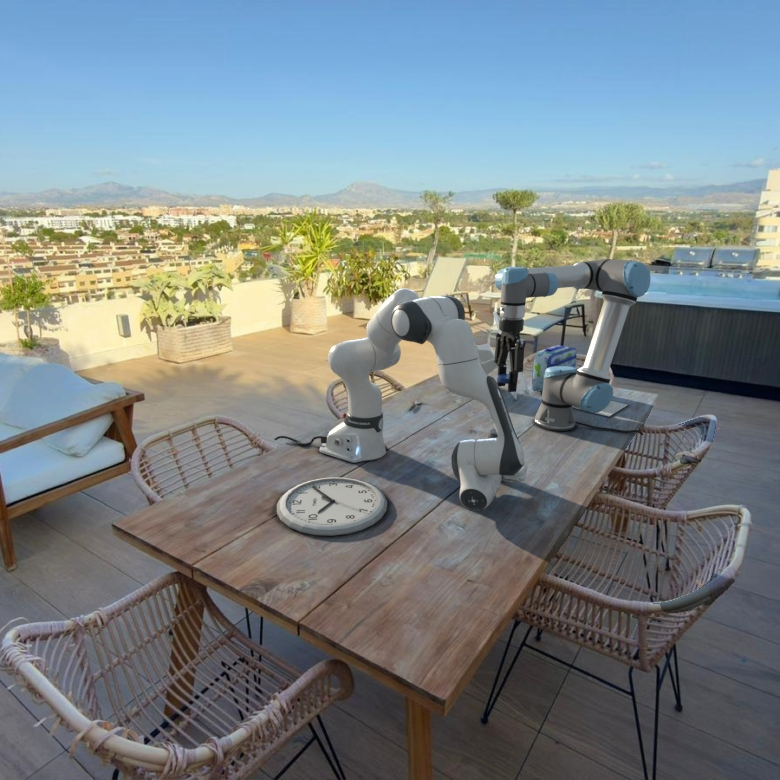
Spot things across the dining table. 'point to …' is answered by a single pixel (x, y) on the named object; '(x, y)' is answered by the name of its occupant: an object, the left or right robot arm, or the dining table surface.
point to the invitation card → (611, 408)
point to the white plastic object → (489, 365)
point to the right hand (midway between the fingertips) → (506, 388)
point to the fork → (415, 403)
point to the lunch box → (551, 363)
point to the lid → (503, 378)
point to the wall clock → (331, 506)
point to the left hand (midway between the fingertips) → (496, 456)
